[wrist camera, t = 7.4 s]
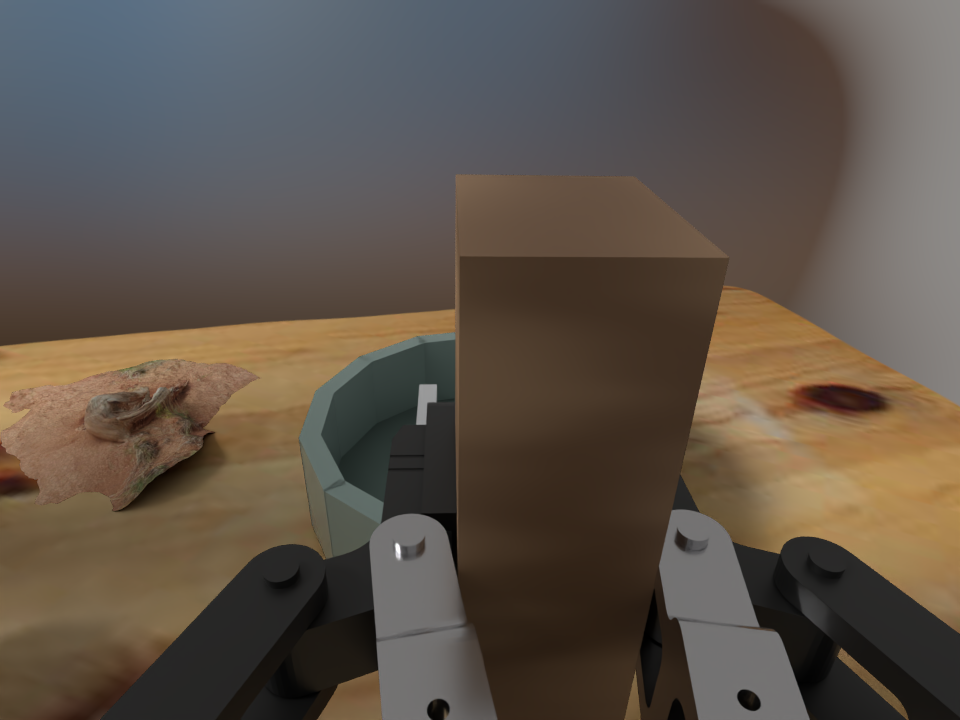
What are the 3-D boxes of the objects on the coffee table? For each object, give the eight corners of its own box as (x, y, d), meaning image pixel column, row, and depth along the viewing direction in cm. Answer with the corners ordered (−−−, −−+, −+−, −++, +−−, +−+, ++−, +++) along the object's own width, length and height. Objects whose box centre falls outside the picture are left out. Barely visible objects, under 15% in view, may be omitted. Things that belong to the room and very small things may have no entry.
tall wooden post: (456, 867, 14) (458, 256, 7) (454, 692, 17) (455, 174, 10) (591, 861, 14) (729, 257, 7) (562, 689, 17) (634, 176, 10)
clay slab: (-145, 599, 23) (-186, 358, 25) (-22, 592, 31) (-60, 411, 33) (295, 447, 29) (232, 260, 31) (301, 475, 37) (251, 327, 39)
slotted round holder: (276, 654, 21) (255, 556, 18) (345, 403, 34) (337, 330, 32) (718, 640, 21) (748, 545, 19) (614, 400, 35) (624, 328, 33)
